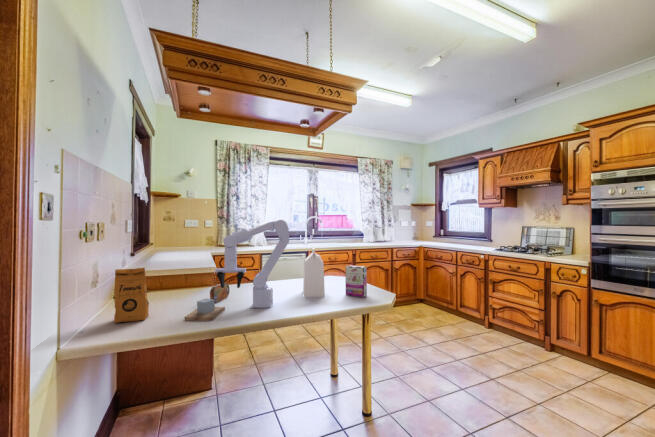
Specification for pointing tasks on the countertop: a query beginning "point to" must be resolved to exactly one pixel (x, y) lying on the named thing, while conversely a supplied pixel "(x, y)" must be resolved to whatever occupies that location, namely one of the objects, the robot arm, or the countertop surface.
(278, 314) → the countertop surface
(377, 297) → the countertop surface
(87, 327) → the countertop surface
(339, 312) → the countertop surface
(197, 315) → the walnut board
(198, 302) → the slate cube
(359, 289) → the candy bar box
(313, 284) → the milk
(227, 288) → the tin
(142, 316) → the coffee package
